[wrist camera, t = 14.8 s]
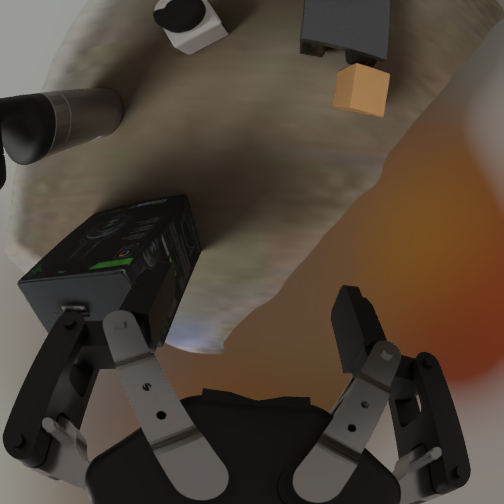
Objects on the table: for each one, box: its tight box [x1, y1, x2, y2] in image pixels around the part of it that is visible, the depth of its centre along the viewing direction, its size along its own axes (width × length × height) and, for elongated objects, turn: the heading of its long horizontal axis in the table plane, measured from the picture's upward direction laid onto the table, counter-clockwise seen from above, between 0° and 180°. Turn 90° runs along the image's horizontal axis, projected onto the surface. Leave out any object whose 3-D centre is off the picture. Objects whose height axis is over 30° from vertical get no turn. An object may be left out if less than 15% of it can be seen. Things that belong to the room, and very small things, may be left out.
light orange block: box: [333, 63, 390, 117], centre depth 30 cm, size 4×6×10 cm
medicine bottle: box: [153, 0, 229, 55], centre depth 26 cm, size 7×7×12 cm
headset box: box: [17, 194, 201, 347], centre depth 39 cm, size 22×12×26 cm, turn 100°
